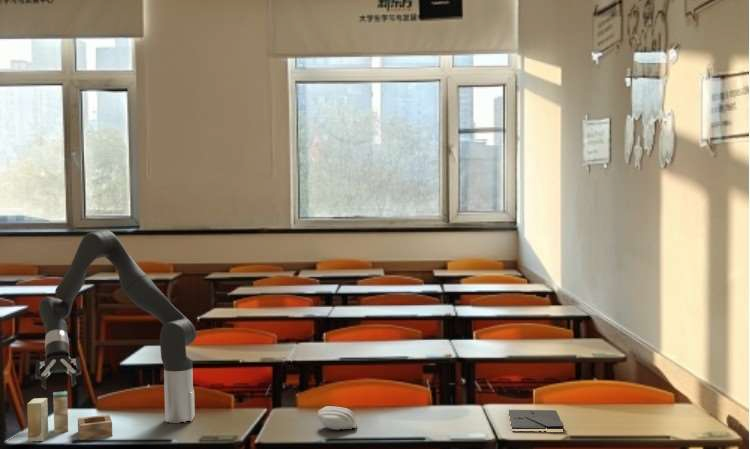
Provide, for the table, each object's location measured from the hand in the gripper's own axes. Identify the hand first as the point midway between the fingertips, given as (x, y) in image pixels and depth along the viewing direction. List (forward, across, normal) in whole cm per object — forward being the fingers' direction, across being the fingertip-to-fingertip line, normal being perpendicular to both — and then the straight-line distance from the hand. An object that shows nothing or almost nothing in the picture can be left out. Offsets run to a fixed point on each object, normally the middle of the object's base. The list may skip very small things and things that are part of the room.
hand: (59, 386), depth 263 cm
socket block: (+20, +10, -3) cm, 23 cm away
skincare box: (+20, -7, -1) cm, 21 cm away
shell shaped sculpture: (+41, +80, -23) cm, 93 cm away
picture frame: (+57, +140, -38) cm, 156 cm away
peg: (+14, 0, +3) cm, 15 cm away
